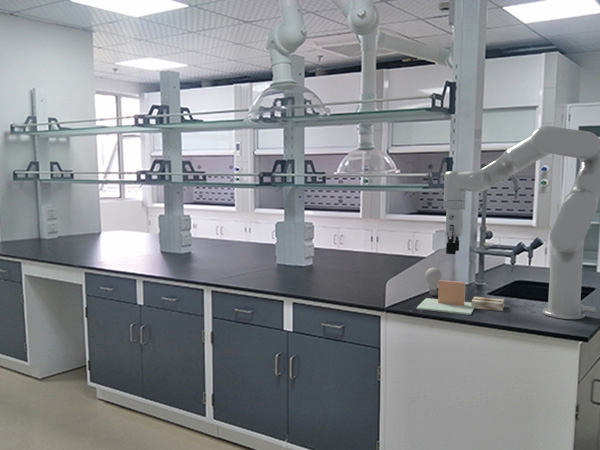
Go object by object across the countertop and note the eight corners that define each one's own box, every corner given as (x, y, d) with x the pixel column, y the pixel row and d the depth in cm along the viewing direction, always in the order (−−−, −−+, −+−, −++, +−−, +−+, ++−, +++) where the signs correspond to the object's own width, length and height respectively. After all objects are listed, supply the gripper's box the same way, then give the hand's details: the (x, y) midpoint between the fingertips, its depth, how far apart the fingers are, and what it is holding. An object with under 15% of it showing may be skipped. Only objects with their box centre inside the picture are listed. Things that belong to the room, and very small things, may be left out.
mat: (476, 304, 192) (476, 303, 192) (470, 315, 178) (470, 313, 178) (426, 299, 200) (426, 298, 200) (416, 309, 185) (416, 307, 185)
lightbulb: (422, 296, 206) (423, 267, 205) (428, 293, 211) (428, 265, 210) (437, 298, 202) (438, 269, 201) (443, 295, 207) (444, 267, 206)
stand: (503, 306, 190) (504, 299, 190) (502, 311, 183) (502, 304, 183) (473, 303, 194) (474, 296, 194) (471, 307, 187) (471, 300, 187)
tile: (438, 301, 193) (464, 304, 190) (437, 302, 192) (463, 305, 188) (439, 280, 193) (465, 282, 189) (438, 280, 191) (464, 283, 188)
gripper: (462, 206, 184) (460, 256, 186) (467, 204, 200) (465, 250, 201) (439, 206, 187) (438, 254, 189) (447, 203, 203) (445, 248, 204)
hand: (452, 252), depth 195 cm, fingers open, 9 cm apart
